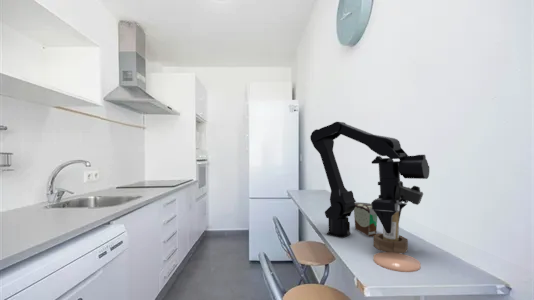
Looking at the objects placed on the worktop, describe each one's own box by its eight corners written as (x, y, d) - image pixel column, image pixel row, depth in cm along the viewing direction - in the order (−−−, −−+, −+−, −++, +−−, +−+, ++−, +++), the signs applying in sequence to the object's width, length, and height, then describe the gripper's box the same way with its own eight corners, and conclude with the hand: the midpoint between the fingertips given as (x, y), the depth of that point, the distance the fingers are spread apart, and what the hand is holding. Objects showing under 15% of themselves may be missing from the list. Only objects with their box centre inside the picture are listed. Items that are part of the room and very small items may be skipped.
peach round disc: (367, 264, 66) (367, 261, 66) (380, 251, 75) (380, 249, 75) (416, 277, 59) (416, 273, 60) (423, 261, 68) (423, 258, 68)
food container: (387, 237, 88) (387, 208, 89) (371, 238, 87) (370, 208, 88) (367, 227, 100) (367, 201, 101) (353, 228, 99) (352, 202, 100)
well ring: (370, 248, 78) (370, 238, 78) (379, 240, 85) (379, 231, 85) (403, 255, 72) (403, 244, 72) (409, 246, 79) (409, 236, 79)
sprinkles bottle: (401, 248, 78) (402, 204, 78) (393, 251, 75) (394, 206, 75) (387, 243, 81) (388, 201, 81) (379, 246, 79) (379, 203, 79)
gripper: (413, 180, 66) (417, 242, 66) (424, 176, 81) (427, 226, 80) (369, 180, 73) (372, 235, 73) (386, 176, 88) (389, 222, 87)
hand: (392, 229), depth 78 cm, fingers open, 9 cm apart
